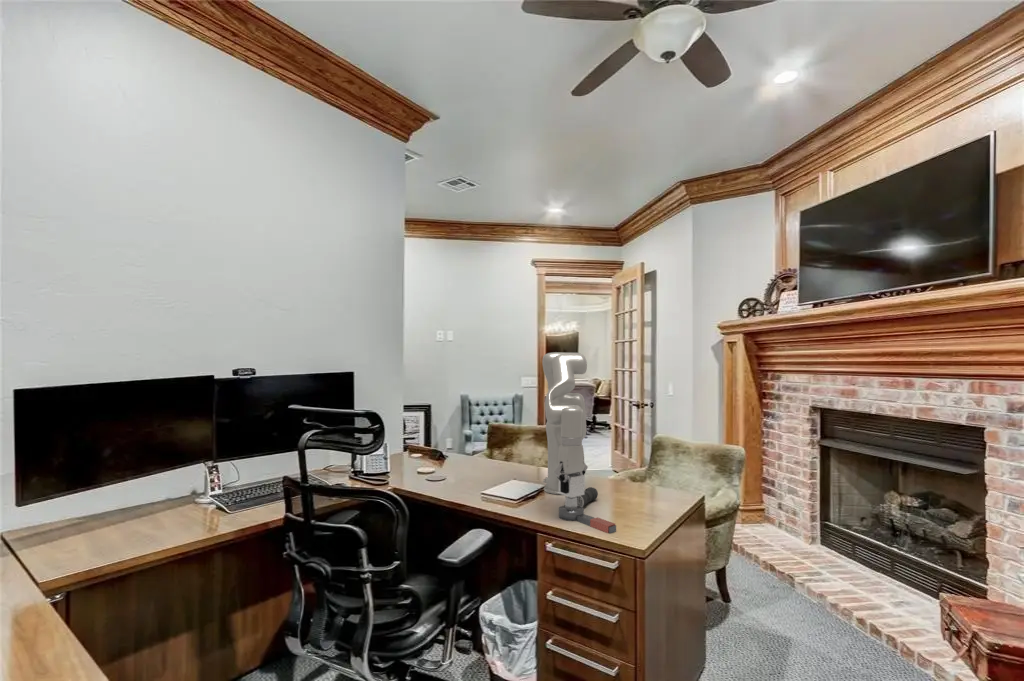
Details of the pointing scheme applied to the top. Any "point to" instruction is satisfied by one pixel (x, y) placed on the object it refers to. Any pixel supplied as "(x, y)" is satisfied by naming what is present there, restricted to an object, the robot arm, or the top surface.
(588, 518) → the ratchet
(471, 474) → the top surface
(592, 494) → the flashlight
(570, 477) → the socket
